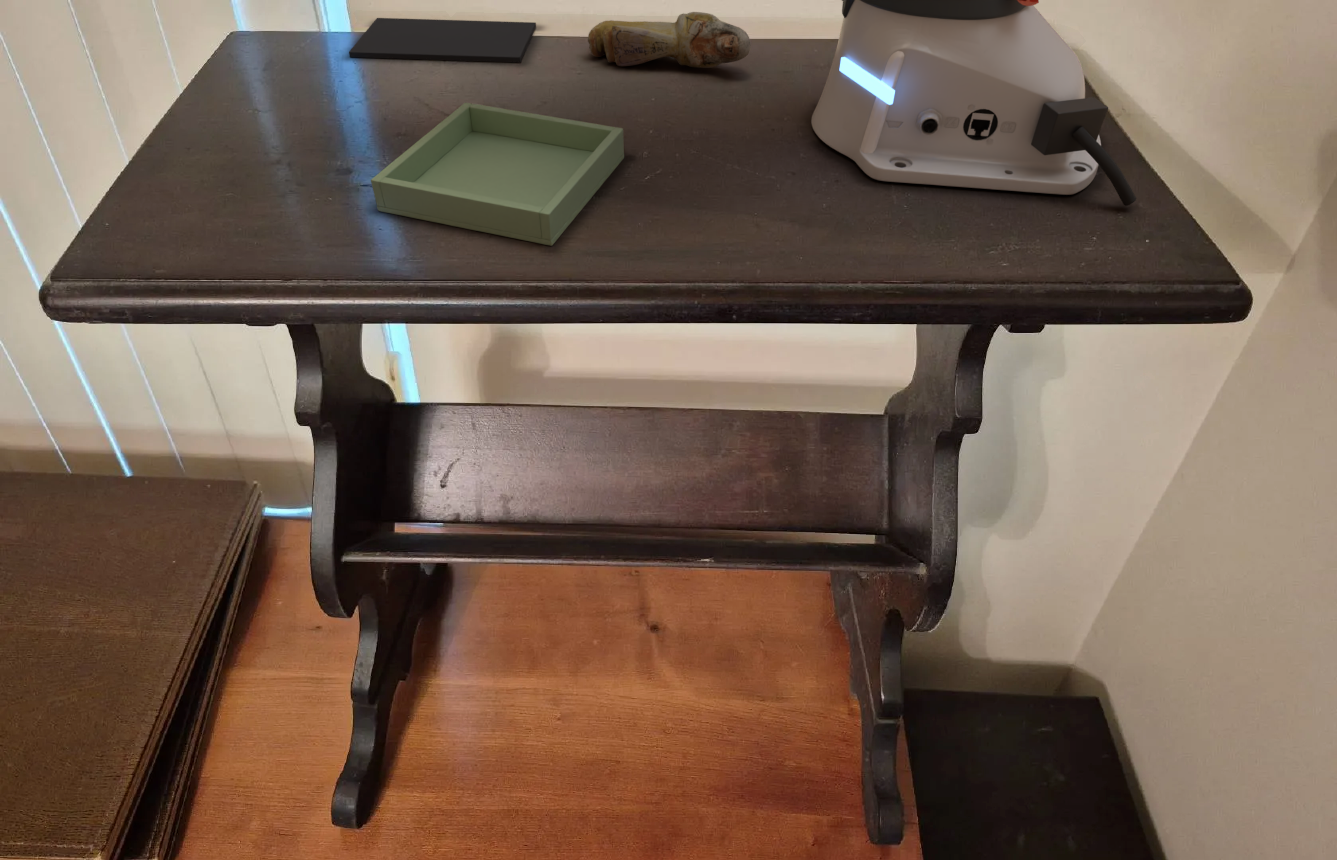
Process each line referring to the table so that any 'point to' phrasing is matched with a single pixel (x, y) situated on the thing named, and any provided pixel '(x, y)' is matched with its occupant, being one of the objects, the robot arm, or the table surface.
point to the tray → (501, 172)
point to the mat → (445, 40)
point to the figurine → (670, 41)
